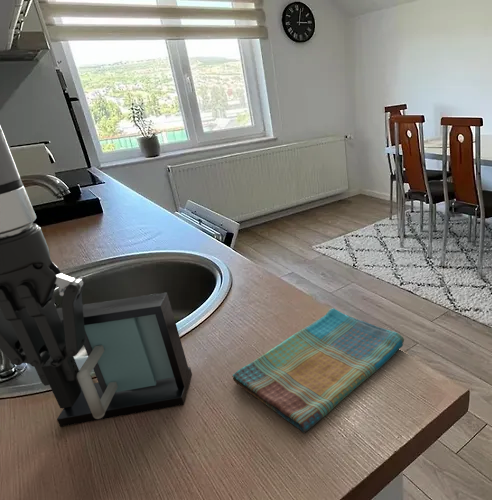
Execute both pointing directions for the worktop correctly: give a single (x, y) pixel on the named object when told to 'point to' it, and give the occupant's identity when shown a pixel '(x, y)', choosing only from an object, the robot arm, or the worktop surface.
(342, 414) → the worktop surface
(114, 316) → the window frame
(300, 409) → the dish towel
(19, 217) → the robot arm
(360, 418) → the worktop surface
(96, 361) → the pane
